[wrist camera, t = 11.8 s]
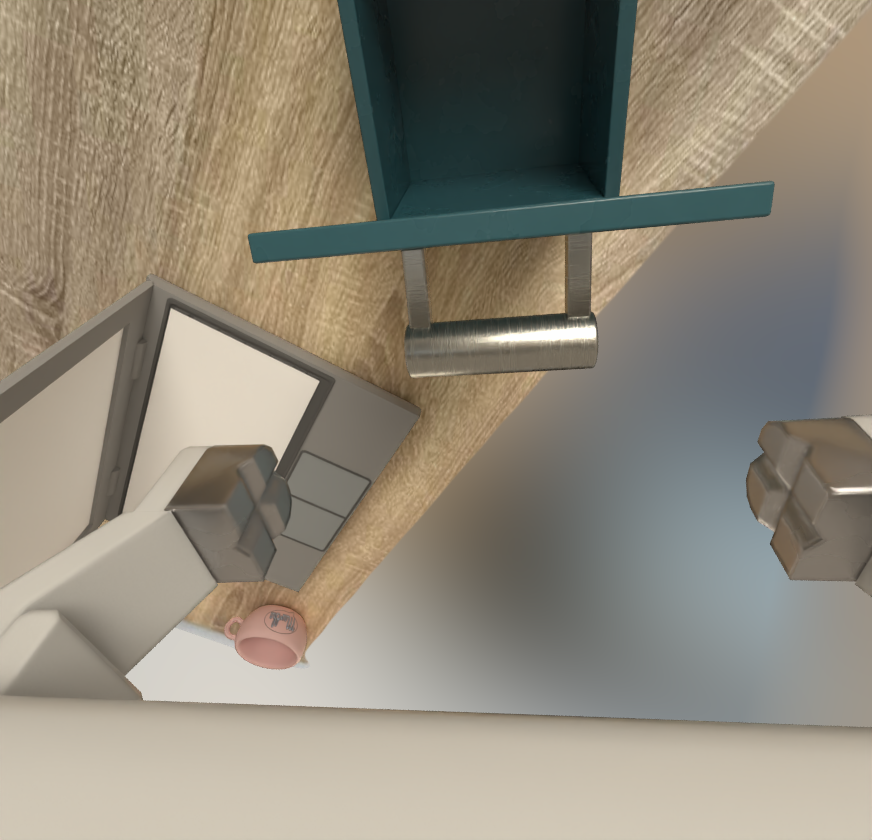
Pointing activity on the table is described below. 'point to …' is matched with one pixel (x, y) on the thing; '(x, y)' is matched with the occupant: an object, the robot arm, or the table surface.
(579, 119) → the teal box
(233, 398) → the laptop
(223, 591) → the table surface
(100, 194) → the table surface
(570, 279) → the lid
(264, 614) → the mug
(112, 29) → the table surface
